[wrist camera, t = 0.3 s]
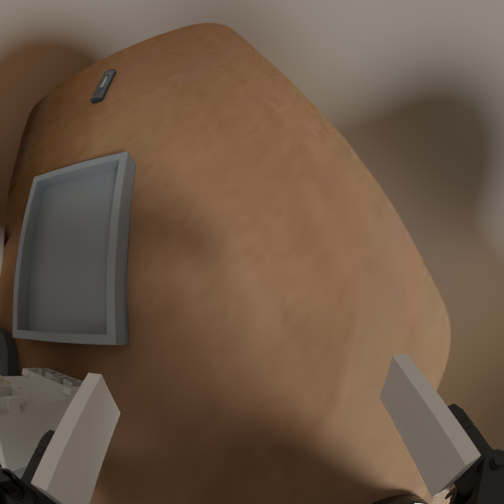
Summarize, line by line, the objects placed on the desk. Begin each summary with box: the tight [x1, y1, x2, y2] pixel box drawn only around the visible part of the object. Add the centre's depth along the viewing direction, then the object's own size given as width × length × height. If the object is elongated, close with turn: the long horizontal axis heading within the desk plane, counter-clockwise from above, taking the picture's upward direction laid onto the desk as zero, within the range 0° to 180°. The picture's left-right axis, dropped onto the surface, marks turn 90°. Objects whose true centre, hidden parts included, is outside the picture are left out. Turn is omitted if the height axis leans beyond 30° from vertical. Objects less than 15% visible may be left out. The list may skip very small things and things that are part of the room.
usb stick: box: [91, 69, 116, 104], centre depth 38 cm, size 10×3×2 cm, turn 2°
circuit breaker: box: [0, 368, 83, 479], centre depth 15 cm, size 8×14×15 cm, turn 176°
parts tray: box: [13, 151, 136, 345], centre depth 27 cm, size 22×16×3 cm
